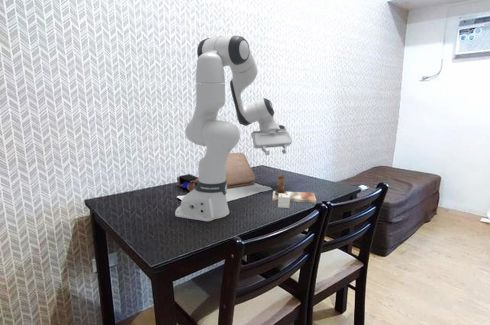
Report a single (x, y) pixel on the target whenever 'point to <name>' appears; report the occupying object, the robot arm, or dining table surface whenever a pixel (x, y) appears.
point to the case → (238, 171)
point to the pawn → (280, 185)
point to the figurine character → (186, 181)
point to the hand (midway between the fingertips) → (276, 154)
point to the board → (298, 197)
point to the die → (283, 200)
